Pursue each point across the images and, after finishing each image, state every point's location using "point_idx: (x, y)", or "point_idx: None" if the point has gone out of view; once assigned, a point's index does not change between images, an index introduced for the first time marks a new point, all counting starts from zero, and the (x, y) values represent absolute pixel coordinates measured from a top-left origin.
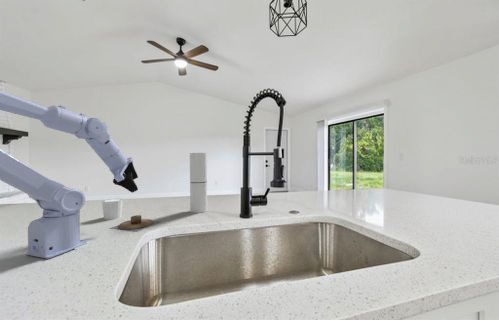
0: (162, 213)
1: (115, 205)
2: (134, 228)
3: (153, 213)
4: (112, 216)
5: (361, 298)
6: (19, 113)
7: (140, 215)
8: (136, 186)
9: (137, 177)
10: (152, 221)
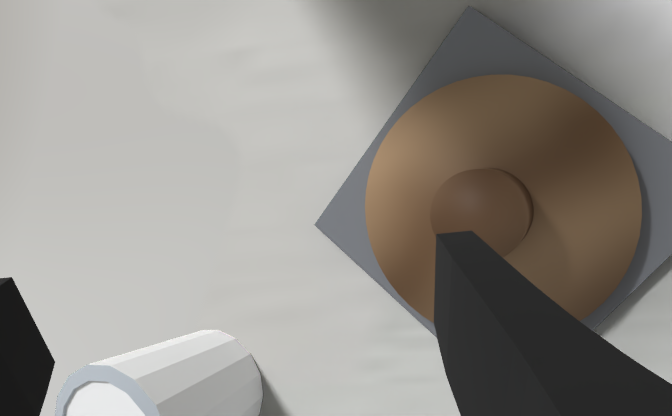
0: (194, 36)
1: (188, 411)
2: (641, 212)
3: (175, 109)
4: (247, 395)
5: None
6: None
7: (449, 179)
8: (503, 265)
9: (10, 285)
10: (440, 81)
